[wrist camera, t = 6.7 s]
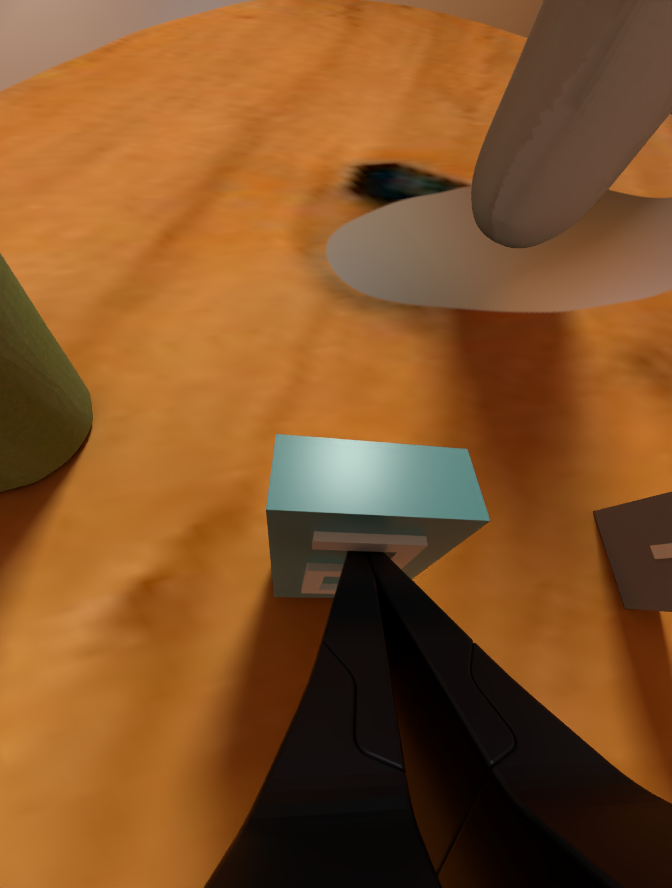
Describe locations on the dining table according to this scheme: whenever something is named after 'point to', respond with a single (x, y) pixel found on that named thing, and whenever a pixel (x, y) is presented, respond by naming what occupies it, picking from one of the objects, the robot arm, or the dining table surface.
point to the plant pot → (35, 392)
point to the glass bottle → (572, 115)
